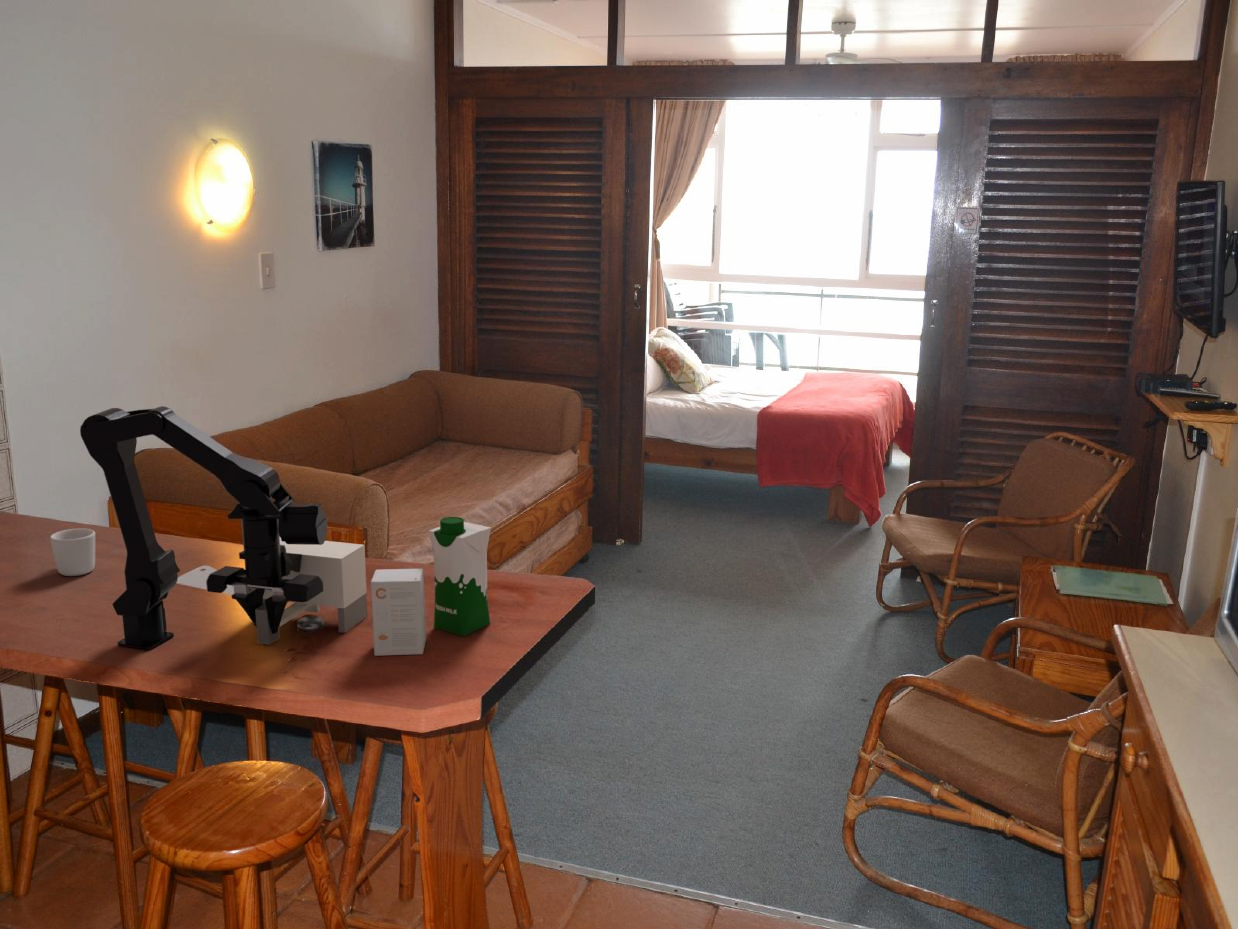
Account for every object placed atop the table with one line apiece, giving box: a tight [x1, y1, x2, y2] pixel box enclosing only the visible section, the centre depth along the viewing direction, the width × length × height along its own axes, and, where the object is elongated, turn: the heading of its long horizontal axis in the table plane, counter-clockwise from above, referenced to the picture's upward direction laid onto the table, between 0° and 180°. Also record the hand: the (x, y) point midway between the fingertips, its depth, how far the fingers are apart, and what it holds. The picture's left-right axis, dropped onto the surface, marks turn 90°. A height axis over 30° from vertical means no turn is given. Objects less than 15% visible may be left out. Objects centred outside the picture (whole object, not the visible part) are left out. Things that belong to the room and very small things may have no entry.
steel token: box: [296, 615, 325, 634], centre depth 186 cm, size 4×4×2 cm
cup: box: [49, 528, 96, 577], centre depth 212 cm, size 11×8×8 cm
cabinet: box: [263, 536, 369, 634], centre depth 188 cm, size 8×18×14 cm, turn 75°
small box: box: [370, 568, 427, 657], centre depth 176 cm, size 8×6×13 cm
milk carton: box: [428, 516, 492, 637], centre depth 185 cm, size 9×9×20 cm
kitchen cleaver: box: [176, 565, 234, 596], centre depth 203 cm, size 31×2×10 cm
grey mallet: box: [255, 602, 321, 645], centre depth 184 cm, size 16×2×6 cm, turn 165°
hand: (268, 632), depth 178 cm, fingers closed on grey mallet, 2 cm apart
